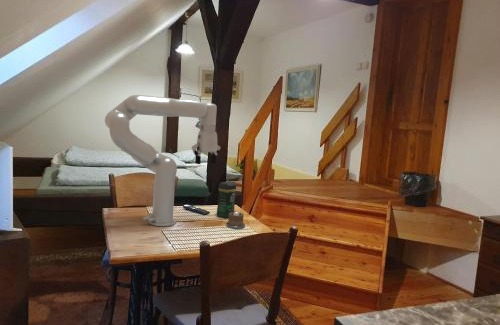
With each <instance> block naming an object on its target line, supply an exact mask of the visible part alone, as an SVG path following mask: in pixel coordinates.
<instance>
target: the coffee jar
mask: <svg viewBox="0 0 500 325" xmlns="http://www.w3.org/2000/svg"><path fill="white" fill-rule="evenodd" d="M236 191H237V183H236V182H235V181H232V180H228V181H227V180H226V181H222V182H220V183H219V185H218V199H217V200H218V201H217V207H216V208H217V210H216V216H217V217H219V218H222V219H223V218H226V219H229V213H231V212H234V211H235V199H236V198H235V197H236Z"/></svg>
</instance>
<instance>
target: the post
mask: <svg viewBox="0 0 500 325" xmlns="http://www.w3.org/2000/svg"><path fill="white" fill-rule="evenodd" d="M239 212H240V211H237V210H236V211H235V210H234V214H233V215H239ZM225 226H226V228H228V229H233V230H243V229H245V227H246V224H245V223H244V222H243V226H239V227H238V226H231V225H228V221H227V222H226V225H225Z"/></svg>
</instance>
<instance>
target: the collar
mask: <svg viewBox="0 0 500 325" xmlns="http://www.w3.org/2000/svg"><path fill="white" fill-rule="evenodd" d="M238 212H239V215H233V214H234V212H231V213H229V218H228V221H227V222H228V225H231V226H238V227H239V226H243V223H244V216H245V214H244V213H242V212H240V211H238Z"/></svg>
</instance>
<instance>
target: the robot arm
mask: <svg viewBox="0 0 500 325" xmlns="http://www.w3.org/2000/svg"><path fill="white" fill-rule="evenodd" d="M217 109H218V108H217V105H216V104H215V103H208V102H202V101H199V100H197V101H196V100H189V99H188V100H186V99H177V98H173V97H172V98H171V97H164V96H162V97H161V96H153V95H142V94H134V95H129V96H128V97H127V98H126V99H124V100H123V101H122V102H121V103H119V104H118V105H116V106H115V107H114V108H112V109H111V110H110V111H109V112H107V113H106V115H105V117H104V123H105V126H106V127H107V128H108V129H109V135H110V137H111V141H112V142H113V144H114V145H115V146H116V147H118V148H119V149H120V150H121V151H123V152H124V153H126V154H127V155H128V156H130V157H131V158H132V160H134V161H135V162H137V163H138V164H140V165H141V166H143V167H144V168H146V169H148V170H149V171H150V172H153V173H154V180H153V195H152V199H153V200H152V212H151V213H150V215H148V216H147V215H146V216H142V220H143V222H146V221H148V224H149V225H151V226H154V227H155V226H156V227H170V226H174V225H175V224H177V220H176V218H174V207H175V206H174V205H175V203H174V202H175V183H176V176H177V173H178V167H177V166H178V165H177V163H176V161H175V160H174V158H172V157H170V156H167V155H164V154H162V153H161V152H159V151H158V150H156V149H155V147H154V146H153V145H151V144H149V143H147V142H146V141H144V140H142V139H141V138H139V137H138V136H137V135H135V134H134V133H133V132H132V131H131V128H130V121H131V120H132V119H133V118H134V117H136V116H137V115H139V116H142V115H143V116H153V117H154V116H155V117H168V118H169V117H170V118H171V117H179V118H180V117H182V118H196V119H200V121H199V122H200V123H199V126H198V129H199V131H198V133H197V138H196V139H197V140H196V143H195V144H194V145H192V146H191V149H192V153H193V154H194V156H195V159H194V164H197V165H201V161H202V160H201V158H202V157H201V155H202V154H203V153H210V154H211V155H210V164H216V163H217V156H218V154H219V153H220V150H221V146H220V145H218V134H217V132H216V127H217V126H216V125H217V124H216V123H217V111H218V110H217Z"/></svg>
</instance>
